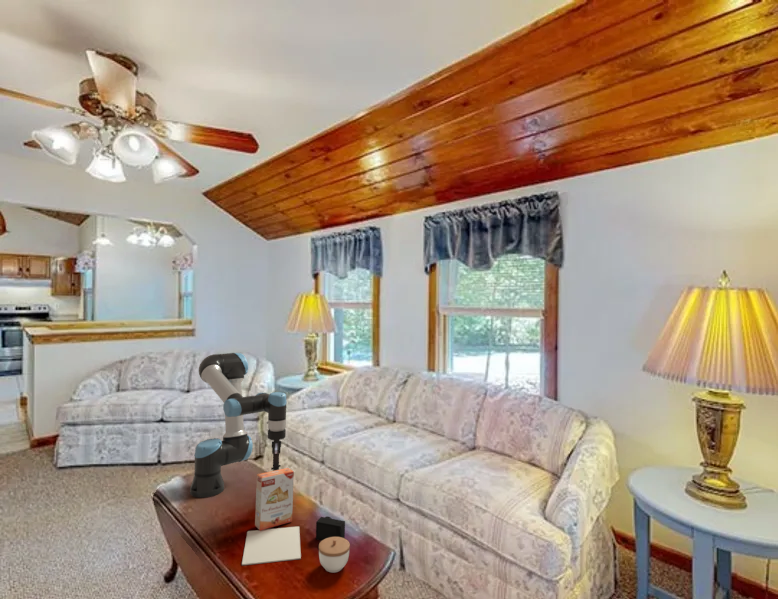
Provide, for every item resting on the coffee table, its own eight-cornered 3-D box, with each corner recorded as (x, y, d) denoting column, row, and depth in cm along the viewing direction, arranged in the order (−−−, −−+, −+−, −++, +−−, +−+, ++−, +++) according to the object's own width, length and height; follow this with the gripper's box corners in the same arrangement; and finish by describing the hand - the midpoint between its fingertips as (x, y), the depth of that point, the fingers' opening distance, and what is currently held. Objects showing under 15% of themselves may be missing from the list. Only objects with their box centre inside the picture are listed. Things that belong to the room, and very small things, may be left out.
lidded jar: (319, 558, 155) (320, 532, 155) (349, 557, 156) (350, 531, 156) (316, 577, 144) (317, 549, 144) (349, 576, 145) (349, 548, 145)
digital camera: (346, 537, 169) (346, 519, 169) (340, 544, 164) (341, 526, 164) (322, 532, 172) (322, 514, 172) (315, 539, 167) (316, 521, 167)
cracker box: (260, 531, 170) (261, 477, 171) (254, 526, 175) (255, 473, 176) (293, 522, 179) (294, 470, 180) (286, 516, 184) (288, 466, 185)
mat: (247, 532, 171) (247, 531, 171) (299, 527, 176) (299, 526, 176) (241, 565, 150) (241, 564, 150) (300, 558, 154) (300, 557, 154)
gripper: (268, 425, 193) (267, 477, 193) (267, 433, 181) (265, 490, 181) (285, 424, 195) (284, 476, 195) (285, 432, 182) (284, 489, 182)
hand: (275, 483), depth 188 cm, fingers closed
